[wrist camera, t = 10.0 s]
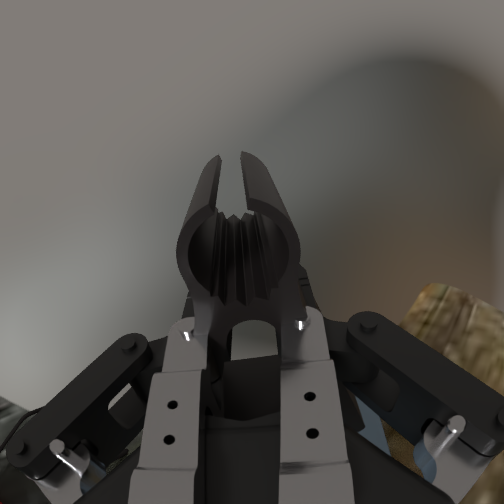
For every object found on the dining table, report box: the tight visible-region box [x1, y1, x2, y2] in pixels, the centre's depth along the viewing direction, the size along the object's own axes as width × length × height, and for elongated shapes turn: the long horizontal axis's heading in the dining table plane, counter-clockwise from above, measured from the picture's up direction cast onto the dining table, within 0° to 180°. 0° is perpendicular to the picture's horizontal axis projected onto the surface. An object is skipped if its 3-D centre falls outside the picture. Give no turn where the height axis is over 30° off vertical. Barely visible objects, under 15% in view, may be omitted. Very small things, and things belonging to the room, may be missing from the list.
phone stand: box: [176, 151, 365, 432], centre depth 12 cm, size 9×6×12 cm, turn 94°
